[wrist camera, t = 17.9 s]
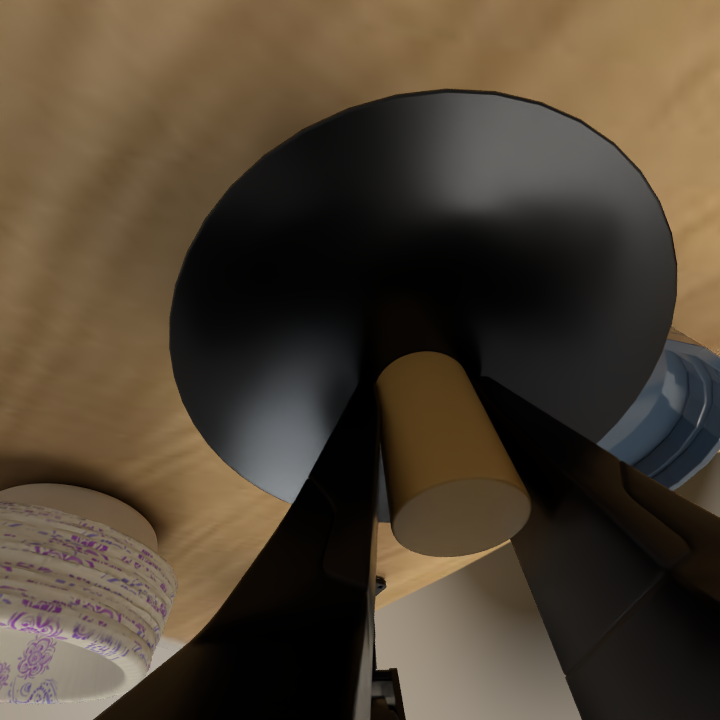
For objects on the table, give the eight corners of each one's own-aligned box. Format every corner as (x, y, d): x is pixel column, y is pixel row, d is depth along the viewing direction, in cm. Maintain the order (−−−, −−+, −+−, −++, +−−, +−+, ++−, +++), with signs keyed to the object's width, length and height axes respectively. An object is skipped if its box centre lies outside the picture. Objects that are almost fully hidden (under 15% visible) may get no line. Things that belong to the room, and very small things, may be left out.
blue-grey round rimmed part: (555, 519, 26) (573, 552, 24) (390, 465, 22) (395, 500, 20) (752, 381, 19) (802, 411, 17) (568, 259, 15) (605, 280, 13)
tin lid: (453, 524, 14) (495, 670, 10) (145, 436, 11) (35, 610, 7) (744, 276, 9) (1076, 395, 5) (294, -94, 5) (131, -887, 1)
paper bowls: (-1, 571, 27) (-112, 715, 20) (-107, 436, 19) (-354, 604, 12) (202, 579, 29) (161, 711, 22) (187, 461, 21) (115, 614, 14)
